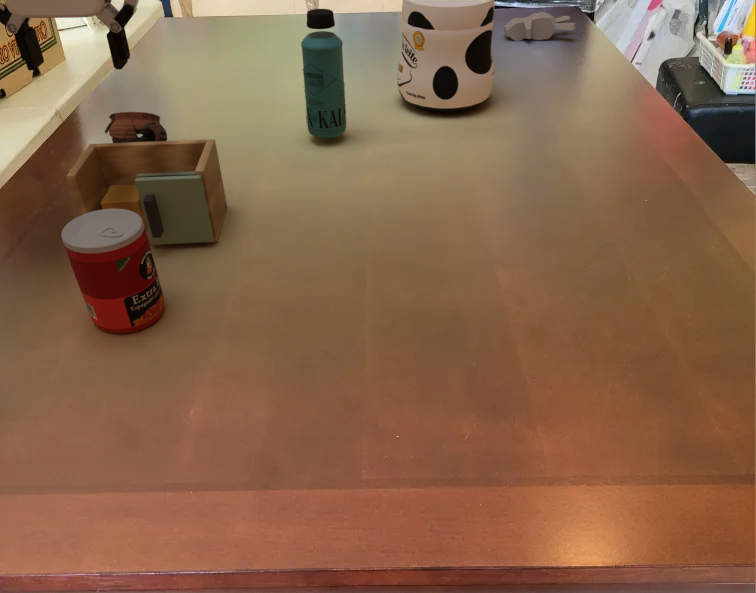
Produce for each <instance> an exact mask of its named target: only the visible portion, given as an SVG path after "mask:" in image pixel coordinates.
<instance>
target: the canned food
mask: <svg viewBox="0 0 756 593" xmlns="http://www.w3.org/2000/svg"><path fill="white" fill-rule="evenodd" d="M60 236H61V239H62V243H63V246H64V250H65V252H66V256H67V258H68V260H69V263H70V266H71V269H72V271H73V274H74V276H75V279H76V282H77V285H78V288H79V290H80V293H81V296H82V298H83V301H84V303H85V304H84V305H85V306H86V309H87V311H88V314H89V317H90V319H91V320H92V322H93V323H94V324H95V325H96V326H97V327H98V329H100V330H102V331H104V332H107V333H111V334H129V333H135V332H138V331H141V330H143V329H146V328H148V327H150V326H152V325H153V324H154V323H155V322H157V321H158V320H159V319H160V318H161V316H162V314H163V312H164V310H165V297H164V294H163V290H162V289H163V288H162V286H161V282H160V277H159V274H158V271H157V267H156V264H155V259H154V256H153V252H152V248H151V245H150V244H149V240H148V237H147V233H146V230H145V227H144V224H143V221H142V219H141V217H140V216H139V215H138V214H136V213H135V212H132V211H130V210H125V209H103V210H97V211H93V212H89V213H86V214H83V215H81V216H80V215H79V216H77V217H75V218H73V219H72V220H70V221H69V222H68V223H66V224H65V226H64V227H63V229H62V230H61V235H60Z"/></svg>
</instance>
